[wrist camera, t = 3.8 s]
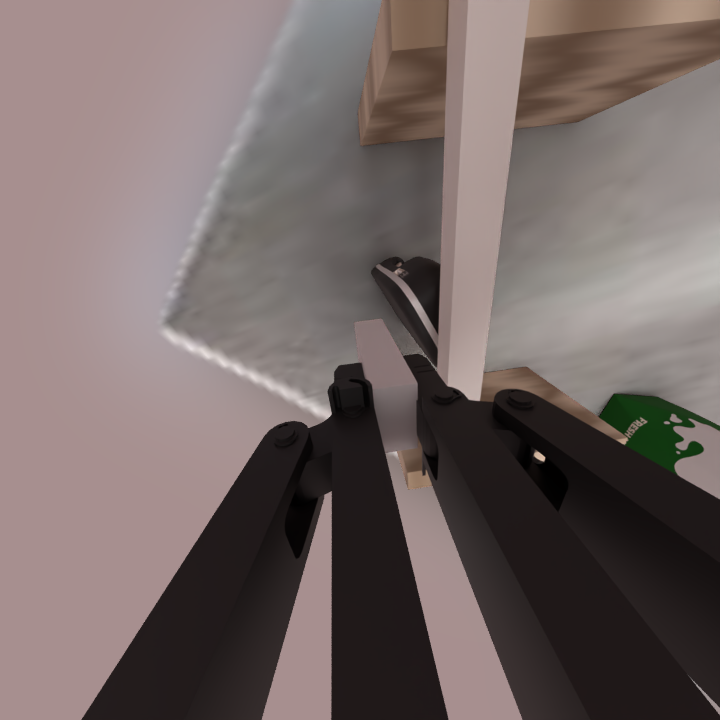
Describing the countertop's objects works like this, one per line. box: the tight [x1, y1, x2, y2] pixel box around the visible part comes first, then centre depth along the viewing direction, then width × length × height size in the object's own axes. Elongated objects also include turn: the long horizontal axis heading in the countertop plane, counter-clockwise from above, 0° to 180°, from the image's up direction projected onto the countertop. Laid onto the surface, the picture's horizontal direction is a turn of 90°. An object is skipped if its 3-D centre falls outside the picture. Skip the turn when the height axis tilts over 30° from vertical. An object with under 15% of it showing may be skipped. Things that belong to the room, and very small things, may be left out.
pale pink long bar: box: [437, 0, 530, 502], centre depth 14 cm, size 3×27×2 cm, turn 6°
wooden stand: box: [358, 0, 720, 489], centre depth 21 cm, size 18×27×12 cm, turn 6°
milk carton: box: [599, 394, 720, 499], centre depth 28 cm, size 9×9×20 cm
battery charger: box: [371, 257, 441, 367], centre depth 21 cm, size 7×4×11 cm, turn 34°
